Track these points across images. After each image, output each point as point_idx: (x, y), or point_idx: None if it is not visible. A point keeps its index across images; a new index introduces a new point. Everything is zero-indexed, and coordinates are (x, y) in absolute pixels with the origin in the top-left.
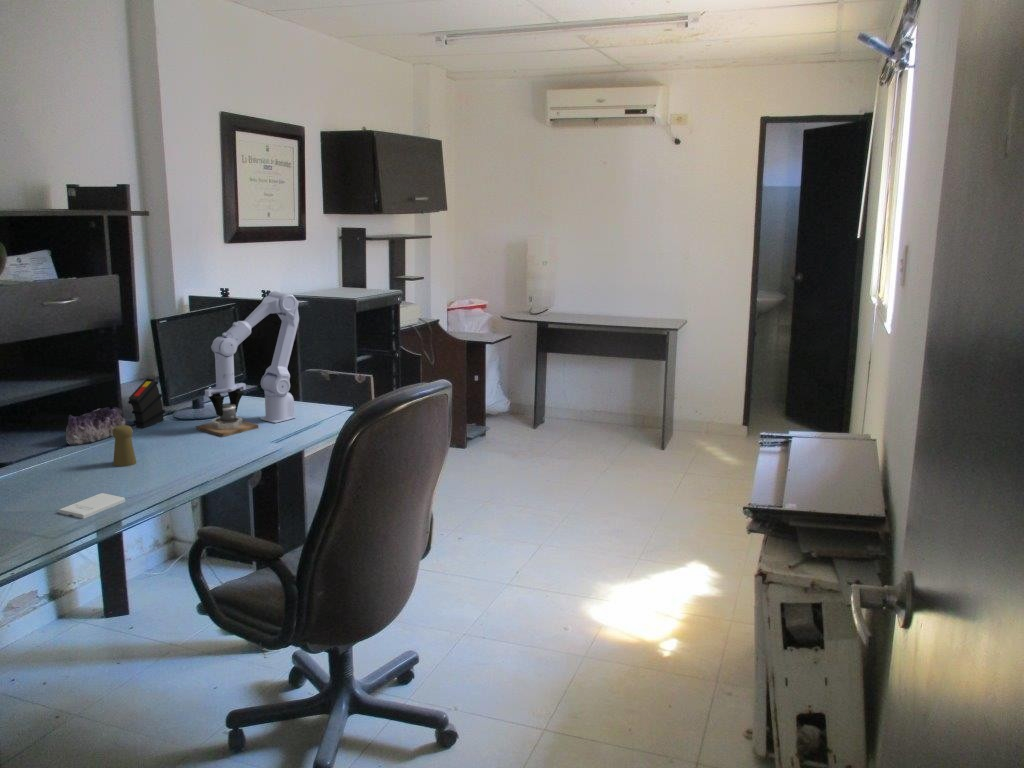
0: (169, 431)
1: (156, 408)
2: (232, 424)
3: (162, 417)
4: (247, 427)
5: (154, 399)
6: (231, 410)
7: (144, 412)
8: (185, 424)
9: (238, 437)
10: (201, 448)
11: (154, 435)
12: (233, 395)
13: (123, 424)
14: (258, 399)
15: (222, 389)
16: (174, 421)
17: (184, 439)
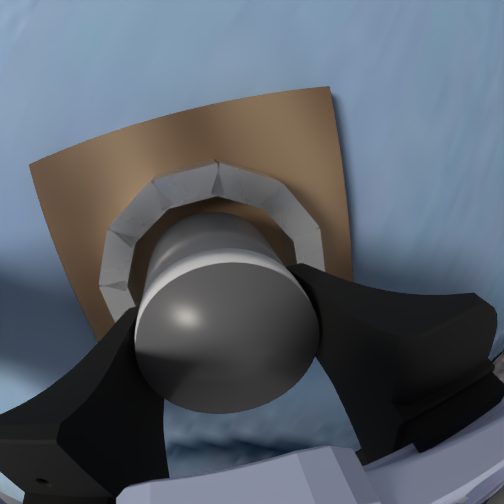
0: None
1: None
2: (221, 163)
3: (362, 459)
4: (110, 138)
5: None
6: (213, 248)
7: None
8: (334, 405)
9: (246, 19)
10: (459, 15)
11: None
12: (131, 460)
13: (502, 377)
14: (20, 496)
15: (496, 462)
16: (336, 442)
17: (460, 188)
